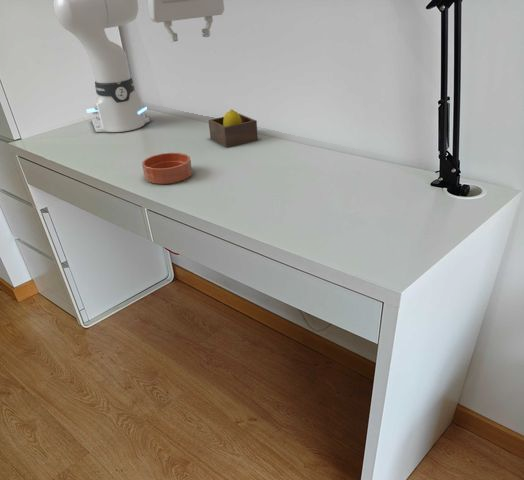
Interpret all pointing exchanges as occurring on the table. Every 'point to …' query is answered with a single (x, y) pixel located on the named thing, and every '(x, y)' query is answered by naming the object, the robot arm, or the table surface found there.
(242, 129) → the holder
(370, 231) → the table surface
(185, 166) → the bowl
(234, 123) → the lemon
